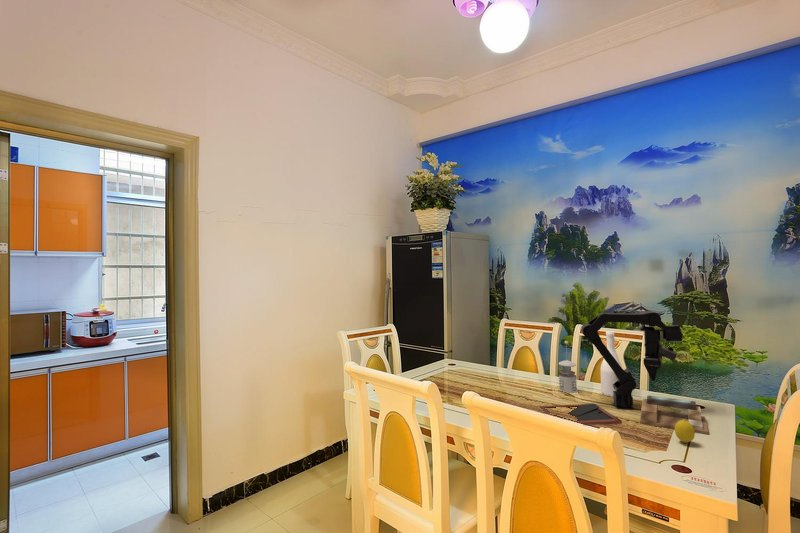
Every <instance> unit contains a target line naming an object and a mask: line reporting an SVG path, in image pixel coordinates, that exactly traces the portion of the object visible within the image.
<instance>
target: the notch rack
mask: <svg viewBox="0 0 800 533" xmlns="http://www.w3.org/2000/svg"><path fill="white" fill-rule="evenodd" d="M658 406H659V405H652V404H647V398H643V399H642V403H641V409H640V418H639V424H640V425H641V424H642V425H647V426H653V427H659V428H664V427H665V428H666V429H672V430H675V425H676V423H677V422H678V421H680V420H683V419H684V420H686V421H688V422H689V423H691V425H692V426H693V428H694V432H695V434H702V435H709V428H708V425H707V424H708V423H707V421H706V420H707V419H706V416H703V415H702V409H701V407H700V406H697V405H696V410H689V409H687V413H682V412H675V411H668V410H661V409H658V408H659V407H658Z"/></svg>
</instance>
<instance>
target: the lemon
mask: <svg viewBox="0 0 800 533" xmlns="http://www.w3.org/2000/svg"><path fill="white" fill-rule="evenodd" d="M674 433H675V436H676V437H677V439H678V440H680V442H681V441H682V443H683V444H687V443H689V442H692V441H693V440H694V439H695V434H696V433H695V432H694V428H693V426H692V425H691V423H689V422H688V421H686V420H684V419H683V420H680V421H678V422H677V423H676V425H675V429H674Z"/></svg>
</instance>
